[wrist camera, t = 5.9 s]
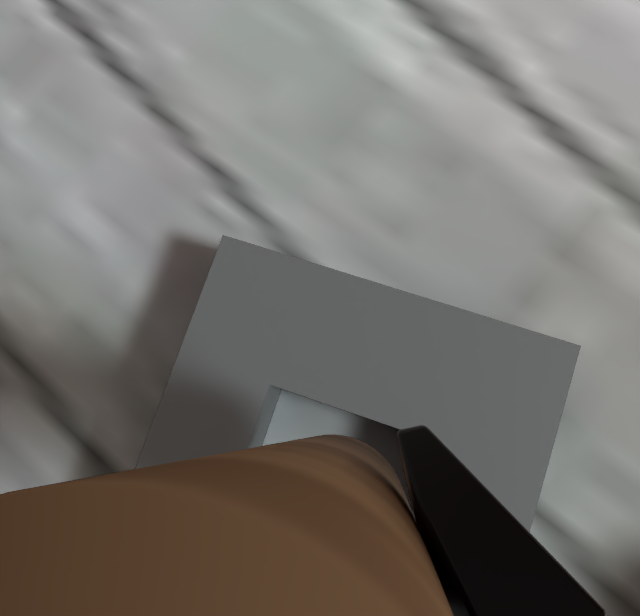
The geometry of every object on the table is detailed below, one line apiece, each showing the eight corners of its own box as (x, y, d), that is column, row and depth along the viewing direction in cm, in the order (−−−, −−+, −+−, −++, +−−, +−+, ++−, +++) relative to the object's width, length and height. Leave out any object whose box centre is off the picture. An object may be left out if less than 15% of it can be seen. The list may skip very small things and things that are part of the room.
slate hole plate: (439, 775, 19) (448, 827, 17) (100, 630, 21) (63, 659, 18) (557, 354, 21) (580, 345, 19) (239, 254, 23) (222, 235, 20)
